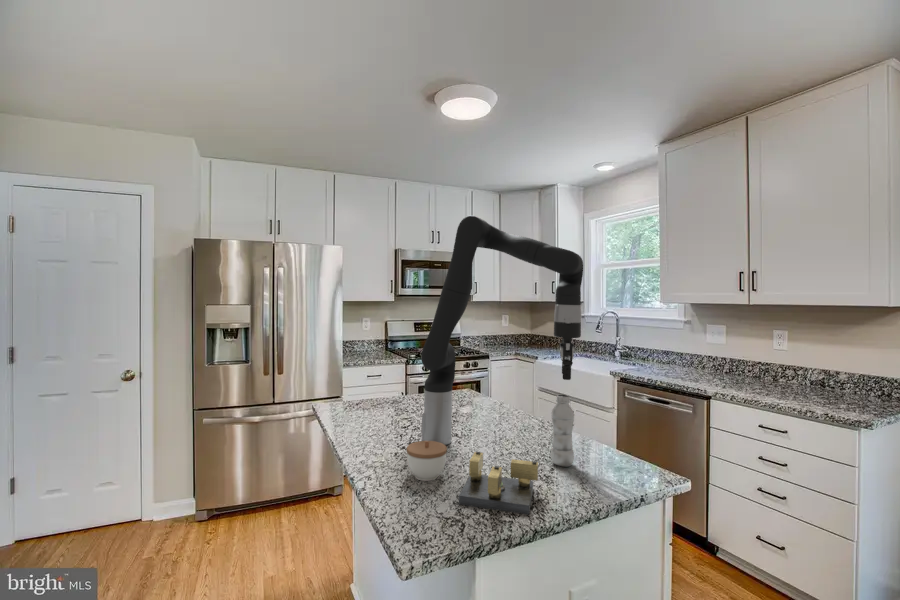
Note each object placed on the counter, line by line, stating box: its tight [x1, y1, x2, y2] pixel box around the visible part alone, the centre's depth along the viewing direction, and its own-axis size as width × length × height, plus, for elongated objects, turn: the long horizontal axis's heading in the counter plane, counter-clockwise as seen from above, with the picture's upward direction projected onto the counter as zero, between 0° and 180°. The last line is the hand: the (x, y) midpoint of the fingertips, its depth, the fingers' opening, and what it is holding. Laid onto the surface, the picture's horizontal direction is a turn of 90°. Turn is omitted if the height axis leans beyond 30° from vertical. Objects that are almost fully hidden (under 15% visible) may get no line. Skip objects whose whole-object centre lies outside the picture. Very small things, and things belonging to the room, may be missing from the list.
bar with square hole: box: [488, 465, 503, 498], centre depth 97 cm, size 6×3×6 cm, turn 165°
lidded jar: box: [406, 440, 448, 482], centre depth 112 cm, size 11×11×9 cm
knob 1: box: [468, 451, 484, 481], centre depth 106 cm, size 6×3×6 cm, turn 165°
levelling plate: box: [458, 474, 534, 515], centre depth 101 cm, size 16×13×3 cm
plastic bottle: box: [550, 393, 575, 468], centre depth 121 cm, size 6×7×20 cm
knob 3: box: [510, 458, 539, 487], centre depth 103 cm, size 6×3×6 cm, turn 75°
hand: (566, 376), depth 121 cm, fingers open, 8 cm apart
